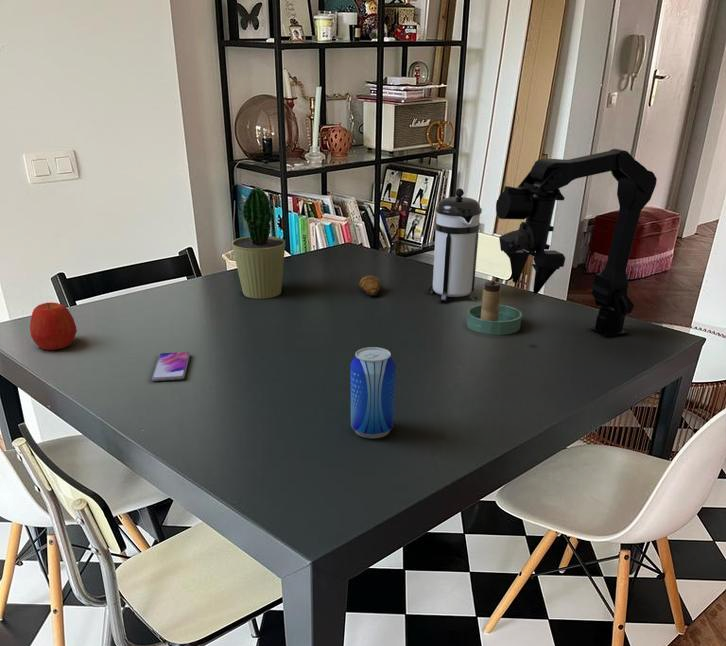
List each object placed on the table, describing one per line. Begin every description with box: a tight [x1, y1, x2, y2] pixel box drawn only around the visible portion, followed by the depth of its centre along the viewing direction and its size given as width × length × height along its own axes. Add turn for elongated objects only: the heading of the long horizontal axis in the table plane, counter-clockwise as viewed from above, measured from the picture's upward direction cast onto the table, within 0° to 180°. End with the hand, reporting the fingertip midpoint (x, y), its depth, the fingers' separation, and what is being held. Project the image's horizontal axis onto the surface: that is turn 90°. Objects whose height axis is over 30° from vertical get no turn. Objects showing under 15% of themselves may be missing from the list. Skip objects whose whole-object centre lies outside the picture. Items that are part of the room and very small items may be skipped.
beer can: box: [350, 346, 396, 439], centre depth 140 cm, size 8×8×16 cm
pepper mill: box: [480, 280, 502, 321], centre depth 191 cm, size 5×5×12 cm
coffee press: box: [428, 188, 483, 304], centre depth 209 cm, size 17×16×30 cm
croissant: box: [358, 274, 382, 298], centre depth 218 cm, size 14×7×5 cm, turn 10°
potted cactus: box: [231, 186, 286, 300], centre depth 210 cm, size 15×15×30 cm
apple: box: [29, 301, 78, 351], centre depth 179 cm, size 11×11×11 cm
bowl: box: [466, 304, 523, 336], centre depth 193 cm, size 14×14×4 cm
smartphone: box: [151, 351, 191, 382], centre depth 169 cm, size 7×1×15 cm
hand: (524, 287), depth 175 cm, fingers open, 9 cm apart
